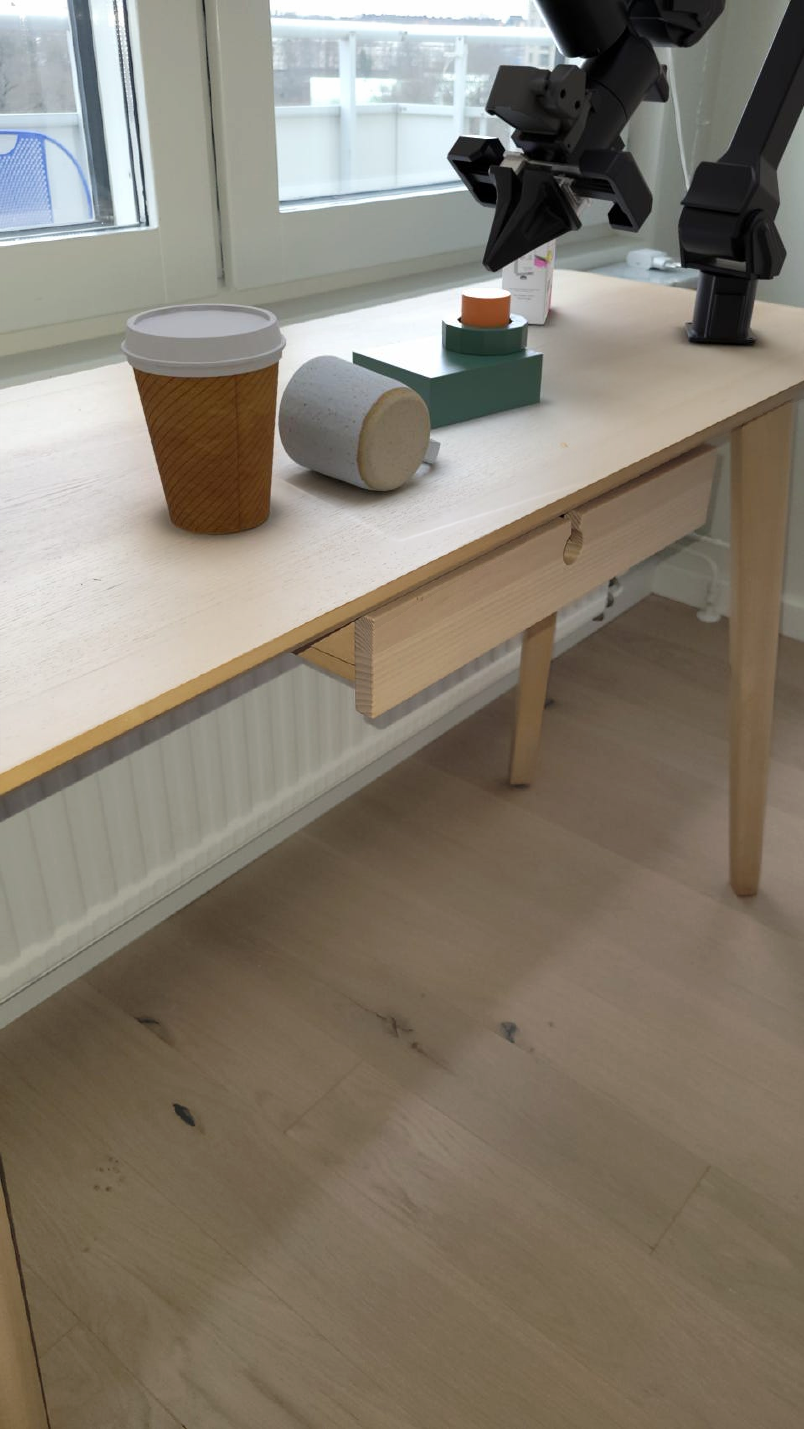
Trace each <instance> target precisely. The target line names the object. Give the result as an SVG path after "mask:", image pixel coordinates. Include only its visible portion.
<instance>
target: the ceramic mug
mask: <svg viewBox="0 0 804 1429" xmlns="http://www.w3.org/2000/svg"><path fill="white" fill-rule="evenodd" d="M277 422H278V423H277V426H278V427H277V428H278V433H279V438H280V442H281V445H282V447H283V449H284V452H285V453H286V455H287V456H288V457H289V459H291V461H293V462H294V463H295V464H297V465H299V466H301V467H302V468H306V469H309V470H312V471H314V472H317V473H320V474H322V475H325V476H328V477H331V478H334V479H336V480H340V481H342V482H345V483H348V484H350V485H353V486H356V487H358V488H360V489H364V490H368V491H374V492H375V491H377V492H388V491H392V490H395V489H397V488H400V487H401V486H403V485H404V484H406V483H407V482H408V481H409V480H410V479H411V478H413V476H414V475H416V473H417V471H418V470H419V469H420V466H421V465H422V463H423V462H425V463H428V464H435V463H436V460H437V458H438V456H439V452H440V448H441V443H440V441H438V440H435V439H433V438H431V425H430V417H429V411H428V408H427V406H426V403H425V402H424V400H423V399H422V398H421V397H420V395H419V394H418V393H416V392H415V391H414V390H412V389H411V388H409V387H408V386H406V385H404V384H403V383H401V382H399V381H397V380H394V379H392V378H389V377H386V376H383V375H380V374H378V373H375V372H373V371H371V370H368V369H366V368H363V367H361V366H358V365H356V364H353V362H350V361H349V360H346V359H343V358H341V357H339V356H335V355H328V354H327V355H325V354H324V355H318V356H315V357H313V358H311V359H309V360H307V361H306V362H305V363H303V364H302V365H301V366H299V367H298V368H297V369H296V371H295V372H294V373H293V374H292V376H291V378H290V379H289V381H288V382H287V384H286V387H285V388H284V391H283V393H282V396H281V399H280V402H279V409H278V420H277Z"/></svg>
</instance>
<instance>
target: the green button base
mask: <svg viewBox="0 0 804 1429" xmlns="http://www.w3.org/2000/svg"><path fill="white" fill-rule="evenodd" d="M528 333H529V324H528V321H527V320H526V319H525V318H524V317H522V316H519V315H515V314H511V313H510V320H509V325H504V326H498V327H479V326H470V325H466V324H462V323H461V311H460V312H454V313H449V314H448V315H446V316H445V317H443V318H442V319H441V334H436V335H431V336H426V337H420V338H415V339H410V340H405V341H399V342H394V343H389V344H385V345H379V346H374V347H369V348H364V349H359V350H358V349H357V350H354V351H352V353H351V354H352V356H351V357H352V363H353V364H356V365H358V366H361V367H363V368H366V369H368V370H371V371H373V372H375V373H378V374H380V375H383V376H386V377H389V378H392V379H394V380H397V381H399V382H401V383H403V384H404V385H406V386H408V387H409V388H411V389H412V390H414V391H415V392H416V393H418V394H419V395H420V397H421V398H422V399H423V400H424V402H425V403H426V406H427V408H428V411H429V417H430V425H431V430H435V429H439V428H444V427H448V426H452V425H455V424H459V423H463V422H468V421H472V420H475V419H479V418H483V417H487V416H492V415H495V414H499V413H503V412H507V411H510V410H515V409H518V408H523V407H527V406H530V405H534V404H539V403H540V402H541V391H542V390H541V388H542V378H543V377H542V376H543V365H544V364H543V363H544V353H543V352H539V351H536V350H532V349H529V348H526V347H527V346H528V336H529V335H528Z"/></svg>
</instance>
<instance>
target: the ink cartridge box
mask: <svg viewBox="0 0 804 1429" xmlns="http://www.w3.org/2000/svg"><path fill="white" fill-rule="evenodd" d="M556 243H557V238H556V239H554V240H552V241H550V242H548V243H546V244H544V245H542V246H540V247H538V248H536V249H534V250H533V251H531V252H529V253H527V254H526V255H524V256H522V257H521V258H519V259H517V260H515V261H514V262H512V263H510V264H509V265H507V266H505V267H503V268H502V274H501V275H502V276H501V278H502V280H501V290H505V291H508V292H510V293H511V303H510V313H511V314H515V315H519V316H522V317H524V318H525V319H526V320H527V321H528V325H544V324H545V323H546V320H547V317H548V314H549V311H550V308H551V305H552V304H551V303H552V290H553V279H554V267H555V256H556V255H555V254H556Z"/></svg>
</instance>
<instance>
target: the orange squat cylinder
mask: <svg viewBox="0 0 804 1429" xmlns="http://www.w3.org/2000/svg"><path fill="white" fill-rule="evenodd" d="M510 303H511V293H510V292H508V291H505V290H502V288H493V287H490V288H489V287H482V288H481V287H478V288H469V289H464V290H463V291H462V292H461V310H460V312H461V323H462V324H466V325H470V326H479V327H498V326H504V325H509V320H510Z"/></svg>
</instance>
